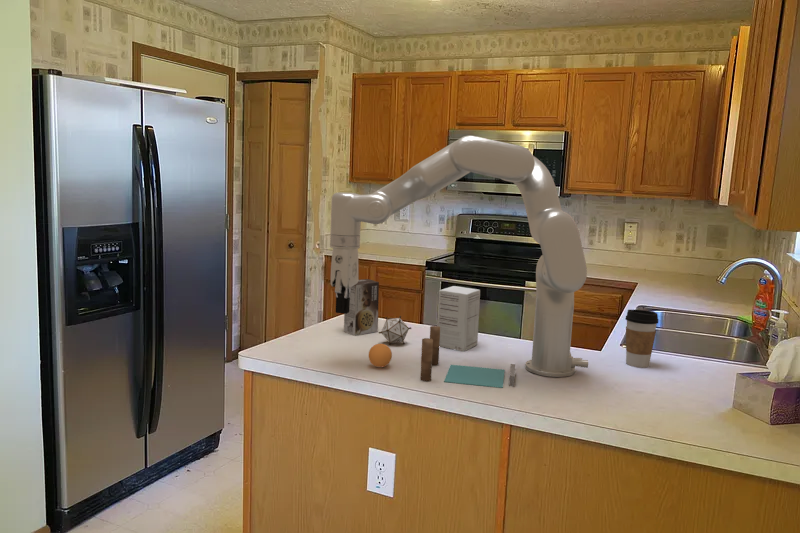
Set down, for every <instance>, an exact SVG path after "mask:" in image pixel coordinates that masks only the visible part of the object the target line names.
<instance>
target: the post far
mask: <svg viewBox="0 0 800 533" xmlns="http://www.w3.org/2000/svg"><path fill="white" fill-rule="evenodd" d="M429 338H430V339H433V350H432V367H433V366H439V363H440V362H439V361H440V360H439V359H440V347H439V344H440V327H439V326H437V325H431V326H430V327H429Z"/></svg>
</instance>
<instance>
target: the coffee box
mask: <svg viewBox="0 0 800 533" xmlns="http://www.w3.org/2000/svg"><path fill="white" fill-rule="evenodd" d="M379 284H380V282H379V281H375V280H373V279H369V278H364V279H362V278H361V279H358V283H357V284H355V285H354V286H352V287H351V289H350V307H349V312H348V313H347V314H343V315H344V316H343V332H344V333H347V334H349V335H352V336H354V335H355V336H361V335H365V334H371V333H377V332H378V333H379V298H380V296H379V293H380V290H379V287H380V286H379Z"/></svg>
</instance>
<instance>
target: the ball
mask: <svg viewBox="0 0 800 533" xmlns="http://www.w3.org/2000/svg"><path fill="white" fill-rule="evenodd" d="M392 356H393V353H392V350H391V347H389V345H386V344H384V343H376V344H374V345H373V346H371V348H370V349H369V351H368V361H369V362H370V363H371V364H372V365H373V366H374V367H376V368H383V367H386V366H388V365H389V364H390V362H391V361H392Z"/></svg>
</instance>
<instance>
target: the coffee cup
mask: <svg viewBox="0 0 800 533" xmlns="http://www.w3.org/2000/svg"><path fill="white" fill-rule="evenodd" d="M658 316H659V315H658V313H657V312H654V311H651V310H644V309H627V312H626V315H625V320H626V326H625V345H626V346H625V349H626V350H625V354H626V355H625V356H626V358H625V363H626V364H627V365H628V366H631V367H634V368H641V369H643V368H644V369H645V368H648V367H650V364H651V359H652V358H651V357H652V353H653V348H654V343H655V338H656V334H657V324H659V317H658Z"/></svg>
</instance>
